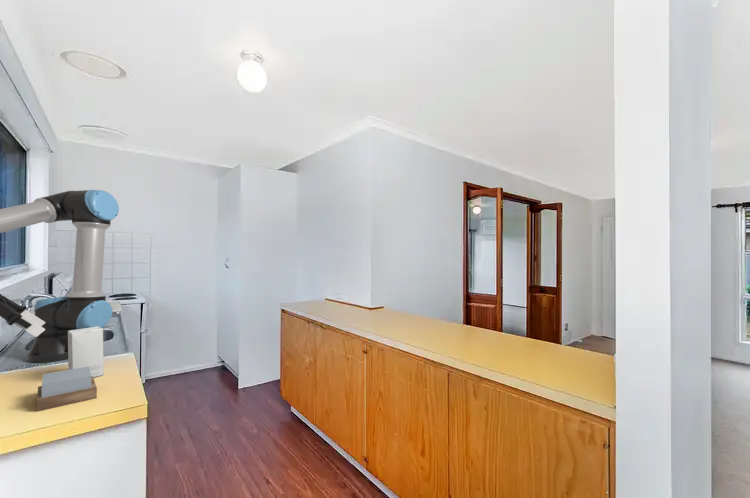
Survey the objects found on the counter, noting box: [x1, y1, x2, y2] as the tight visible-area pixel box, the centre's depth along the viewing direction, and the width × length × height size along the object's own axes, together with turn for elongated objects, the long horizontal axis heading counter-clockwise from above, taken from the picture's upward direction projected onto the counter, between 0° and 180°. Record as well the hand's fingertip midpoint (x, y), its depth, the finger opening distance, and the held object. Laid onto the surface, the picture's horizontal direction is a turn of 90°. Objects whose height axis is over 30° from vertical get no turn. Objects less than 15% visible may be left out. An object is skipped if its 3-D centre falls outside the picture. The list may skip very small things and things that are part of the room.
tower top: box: [41, 366, 91, 398], centre depth 98 cm, size 10×10×4 cm
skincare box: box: [67, 326, 105, 378], centre depth 114 cm, size 8×7×16 cm
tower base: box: [36, 376, 98, 413], centre depth 98 cm, size 12×12×4 cm
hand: (41, 329), depth 107 cm, fingers open, 13 cm apart
